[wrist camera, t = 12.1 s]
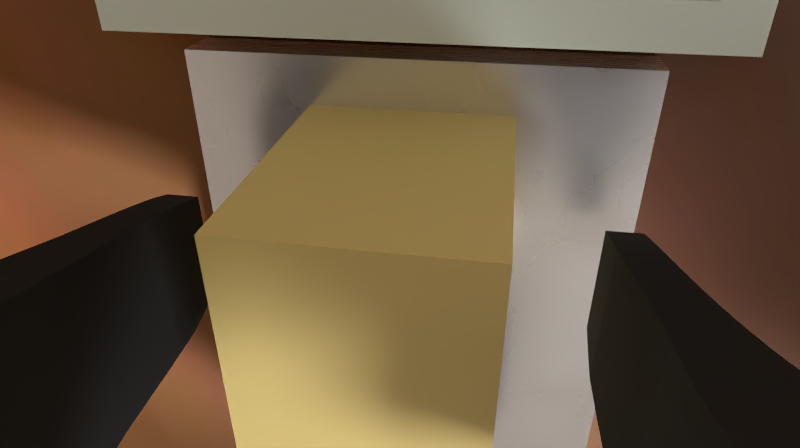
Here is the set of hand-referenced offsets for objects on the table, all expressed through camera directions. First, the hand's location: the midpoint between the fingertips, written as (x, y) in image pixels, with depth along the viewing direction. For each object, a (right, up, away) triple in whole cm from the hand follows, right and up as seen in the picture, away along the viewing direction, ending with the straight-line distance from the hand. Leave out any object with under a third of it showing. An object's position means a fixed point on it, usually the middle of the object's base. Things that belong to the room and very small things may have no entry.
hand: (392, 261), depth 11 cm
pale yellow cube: (0, +1, +2) cm, 2 cm away
